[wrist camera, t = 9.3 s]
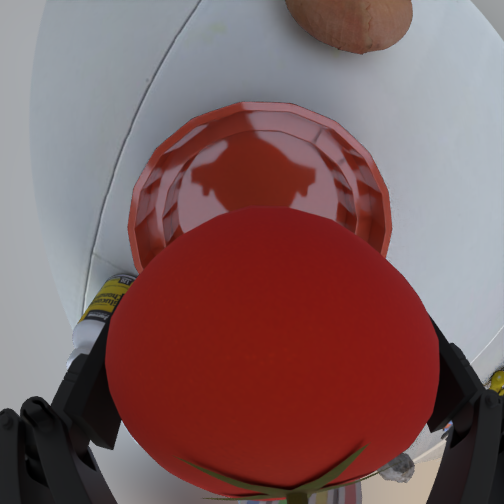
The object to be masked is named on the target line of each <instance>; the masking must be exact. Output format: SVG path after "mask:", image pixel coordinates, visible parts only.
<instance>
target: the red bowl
mask: <svg viewBox="0 0 504 504" xmlns="http://www.w3.org/2000/svg"><path fill="white" fill-rule="evenodd" d="M250 205H258V206H286V207H290V208H293V209H297V210H301V211H304V212H308V213H311V214H315V215H319V216H322V217H326V218H329V219H332V220H333V221H335V222H337V223H338V224H340V225H342V226H343V227H345V228H346V229H348V230H350V231H351V232H353V233H354V234H356V235H357V236H359V237H361V238H362V239H363V240H365V241H366V242H367V243H368V244H369V245H371V246H372V247H373V248H374V249H375V250H376V251H378V252H379V253H380V254H381V255H382V256H383V257H384V258H385V259H386V255H387V251H388V246H389V242H390V238H391V233H392V220H391V210H390V200H389V192H388V189H387V187H386V185H385V182H384V180H383V178H382V176H381V174H380V172H379V170H378V168H377V166H376V164H375V162H374V160H373V158H372V156H371V154H370V153H369V152H368V151H367V150H366V149H365V148H364V147H363V146H362V145H361V144H360V143H359V142H358V141H357V140H356V139H355V138H354V137H353V136H352V135H351V134H350V133H349V132H348V131H347V130H345V129H344V128H343V127H342V126H341V125H340V124H339V123H337V122H336V121H334V120H332V119H329V118H327V117H325V116H323V115H320V114H318V113H315V112H313V111H311V110H308V109H306V108H303V107H301V106H298V105H295V104H292V103H280V102H238V103H235V104H232V105H229V106H226V107H223V108H220V109H217V110H214V111H211V112H208V113H205V114H203V115H200V116H197V117H194V118H193V119H191V120H190V121H188V122H187V123H186V124H185V125H183V126H182V127H181V128H180V129H179V130H177V131H176V132H175V133H174V134H172V135H171V136H170V137H169V138H168V139H167V140H165V141H164V142H163V143H162V144H161V145H160V146H158V147H157V148H156V149H155V151H154V152H153V154H152V156H151V158H150V159H149V161H148V163H147V164H146V166H145V168H144V170H143V171H142V173H141V175H140V177H139V179H138V181H137V182H136V184H135V186H134V189H133V194H132V200H131V206H130V213H129V219H128V227H127V228H128V235H129V241H130V246H131V251H132V256H133V261H134V265H135V268H136V269H137V271H138V273H139V275H140V273H141V272H142V271H143V270H144V269H145V267H146V266H147V265H148V264H149V263H150V262H151V260H152V259H153V258H154V257H155V256H157V255H158V254H159V253H160V252H161V251H162V250H163V249H165V248H166V247H167V246H168V245H169V244H171V243H172V242H173V241H174V240H175V239H176V238H178V237H179V236H181V235H183V234H184V233H186V232H188V231H190V230H192V229H194V228H195V227H197V226H199V225H201V224H203V223H205V222H206V221H208V220H210V219H212V218H214V217H216V216H218V215H221V214H224V213H227V212H230V211H234V210H237V209H240V208H244V207H247V206H250Z"/></svg>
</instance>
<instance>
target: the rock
mask: <svg viewBox="0 0 504 504" xmlns="http://www.w3.org/2000/svg"><path fill="white" fill-rule="evenodd" d="M405 459H406V460H405ZM403 460H404V461H403ZM400 461H402V462H400ZM398 462H400V463H398ZM396 463H398V464H396ZM394 464H396V465H394ZM392 465H394V466H392ZM390 466H392V467H390ZM414 466H415V465H414V463H413V461H412V460H411V458H410V457H409V455H408V454H404V453H401V454H400V455H398V456H397V457H395V458H394V459H392V460H391V461H390V462H388V463H387V464H385V465H384V466H382V467H380V468H379V469H378V470H377V471H378V472H379V471H382V470H384V469H386V468H388V467H390V468H388V469H386V470H384V471H382V472H380V473H379V474H380V475H381V476H382V477H383V478H384V479H385V480H391V481H397V482H405V483H407V482H408V481H409V480H410V478H411V477H412V475H413V473H414Z"/></svg>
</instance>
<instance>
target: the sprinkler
mask: <svg viewBox="0 0 504 504" xmlns="http://www.w3.org/2000/svg"><path fill="white" fill-rule="evenodd" d="M503 385H504V371H498V372H496V373H495V374H494V375H493V376H492V378H491V386H490V388H489V389H492V390H494V391H496V392H497V393H498V394H499V395H500V396H502V395H504V387H502V386H503Z"/></svg>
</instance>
